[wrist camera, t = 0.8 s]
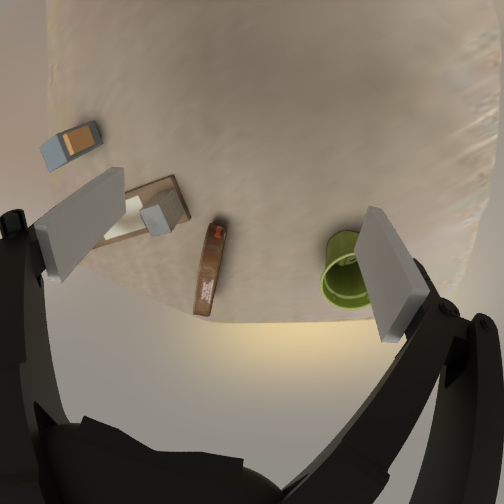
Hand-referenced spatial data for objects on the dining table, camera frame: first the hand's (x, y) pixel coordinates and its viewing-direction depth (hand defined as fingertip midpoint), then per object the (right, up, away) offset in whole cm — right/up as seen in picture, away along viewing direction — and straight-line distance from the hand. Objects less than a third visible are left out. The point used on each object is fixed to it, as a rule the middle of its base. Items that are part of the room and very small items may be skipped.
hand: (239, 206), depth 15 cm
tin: (-5, -3, +32) cm, 32 cm away
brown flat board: (-20, +4, +29) cm, 35 cm away
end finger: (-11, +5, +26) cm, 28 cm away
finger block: (-24, +15, +22) cm, 36 cm away
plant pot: (+15, -2, +28) cm, 32 cm away
